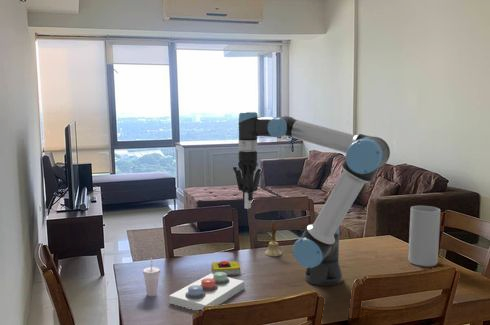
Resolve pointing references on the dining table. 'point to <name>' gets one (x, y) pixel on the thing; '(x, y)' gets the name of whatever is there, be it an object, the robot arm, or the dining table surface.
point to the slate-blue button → (195, 290)
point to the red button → (208, 283)
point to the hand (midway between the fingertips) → (247, 207)
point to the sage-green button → (220, 276)
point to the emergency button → (227, 268)
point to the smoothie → (151, 279)
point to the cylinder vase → (424, 235)
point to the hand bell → (273, 243)
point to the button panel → (207, 294)
